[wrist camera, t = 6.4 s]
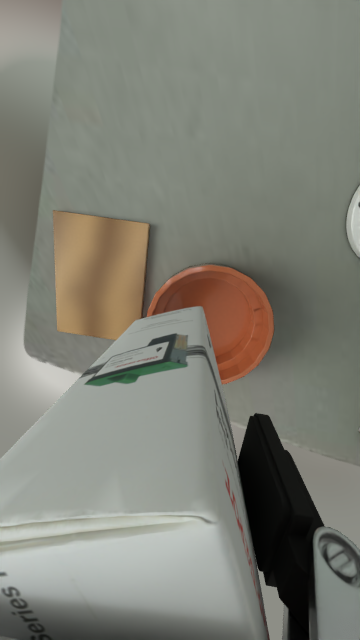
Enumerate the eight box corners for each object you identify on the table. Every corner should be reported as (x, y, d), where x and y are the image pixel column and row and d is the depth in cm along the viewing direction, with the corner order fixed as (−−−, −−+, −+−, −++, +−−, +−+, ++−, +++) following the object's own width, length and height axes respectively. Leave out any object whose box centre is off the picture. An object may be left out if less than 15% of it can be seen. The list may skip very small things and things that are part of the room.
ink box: (229, 413, 16) (313, 811, 5) (164, 423, 16) (97, 791, 5) (202, 301, 13) (238, 542, 2) (129, 319, 14) (-131, 572, 3)
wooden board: (150, 224, 27) (148, 223, 26) (140, 341, 32) (138, 343, 31) (56, 211, 27) (52, 210, 26) (60, 329, 32) (57, 331, 31)
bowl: (273, 272, 28) (289, 276, 23) (247, 373, 32) (256, 394, 27) (159, 256, 28) (152, 256, 23) (149, 357, 32) (141, 375, 28)
